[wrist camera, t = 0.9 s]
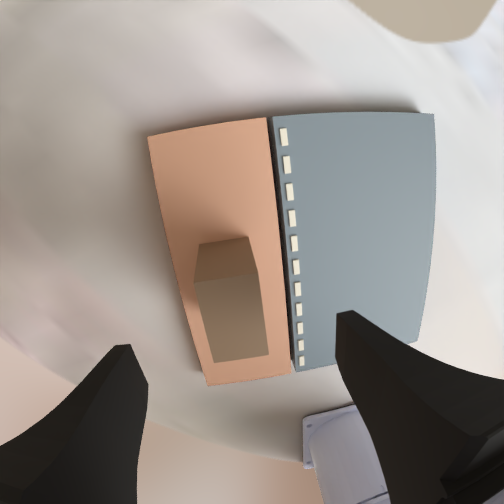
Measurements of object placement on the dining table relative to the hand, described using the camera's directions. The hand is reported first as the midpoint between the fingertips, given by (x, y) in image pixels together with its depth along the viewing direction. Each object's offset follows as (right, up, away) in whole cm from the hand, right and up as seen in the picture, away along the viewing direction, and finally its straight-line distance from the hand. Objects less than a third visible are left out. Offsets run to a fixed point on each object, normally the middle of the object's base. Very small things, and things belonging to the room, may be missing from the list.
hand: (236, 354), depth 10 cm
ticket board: (+7, +4, +7) cm, 10 cm away
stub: (-1, +3, +7) cm, 7 cm away
